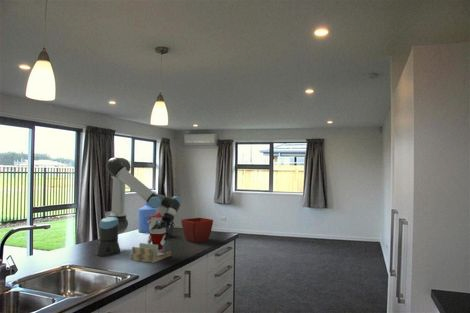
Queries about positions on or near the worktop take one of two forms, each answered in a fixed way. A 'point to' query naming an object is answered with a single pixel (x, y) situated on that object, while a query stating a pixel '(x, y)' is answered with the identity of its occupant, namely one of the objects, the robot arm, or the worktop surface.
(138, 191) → the robot arm
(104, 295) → the worktop surface
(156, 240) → the plastic cup
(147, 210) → the water jug
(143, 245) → the pusher
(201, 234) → the plant pot
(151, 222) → the citrus juicer
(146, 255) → the wooden tray
